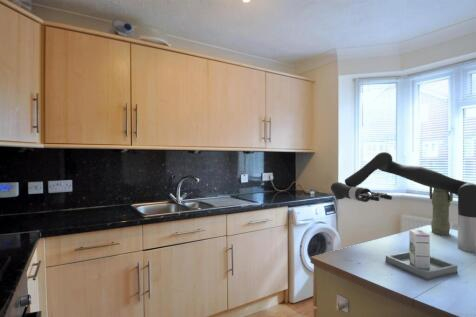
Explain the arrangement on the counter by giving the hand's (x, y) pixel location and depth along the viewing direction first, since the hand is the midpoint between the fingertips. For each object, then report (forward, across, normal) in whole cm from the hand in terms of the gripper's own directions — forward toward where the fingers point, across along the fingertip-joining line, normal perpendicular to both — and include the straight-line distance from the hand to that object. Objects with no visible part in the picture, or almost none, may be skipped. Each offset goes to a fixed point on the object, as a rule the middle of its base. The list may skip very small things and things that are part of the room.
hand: (385, 198), depth 132 cm
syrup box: (+20, -4, +26) cm, 32 cm away
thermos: (-10, +56, +27) cm, 63 cm away
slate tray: (+20, -4, +26) cm, 33 cm away
